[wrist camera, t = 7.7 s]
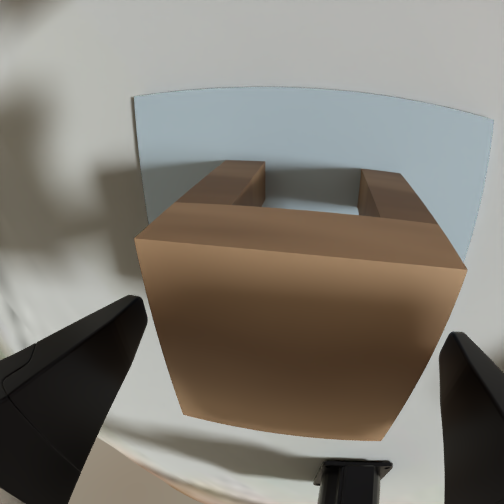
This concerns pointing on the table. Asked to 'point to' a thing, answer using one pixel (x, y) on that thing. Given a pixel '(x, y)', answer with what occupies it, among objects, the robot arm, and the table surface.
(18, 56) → the table surface
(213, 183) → the light brown block
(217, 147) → the mat
